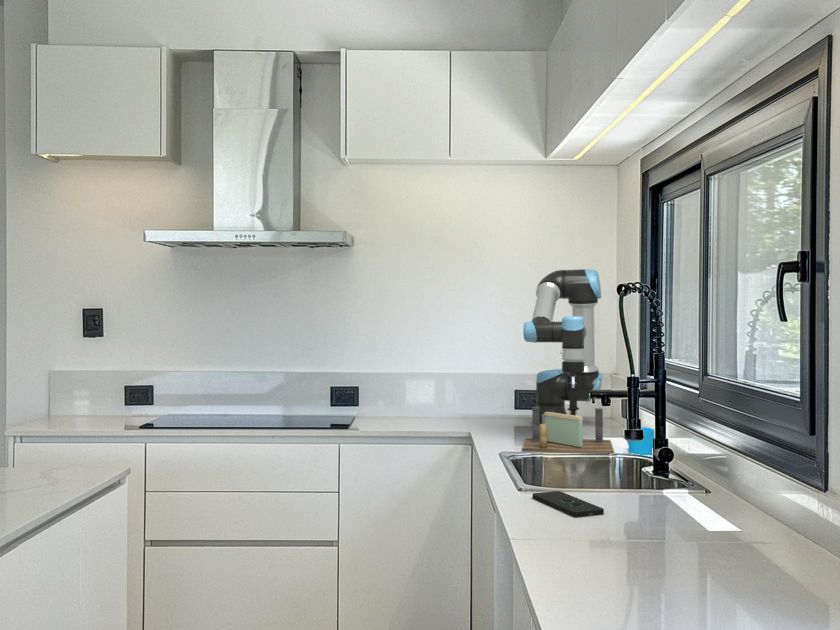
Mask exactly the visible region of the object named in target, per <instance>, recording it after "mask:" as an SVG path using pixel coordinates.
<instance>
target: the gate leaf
mask: <svg viewBox="0 0 840 630" xmlns="http://www.w3.org/2000/svg"><path fill="white" fill-rule="evenodd" d="M583 417H584V416H580V415H577V416H575V415H569V414H568V413H567V414H560V413H553V412H544V414H542V424H547V441H550V442H555V443H561V444H567V445H572V446H578V447H581V446H583V439H584V437H583V433H584V432H583V429H584V428H583V427H584V425H583V419H584V418H583Z"/></svg>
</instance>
